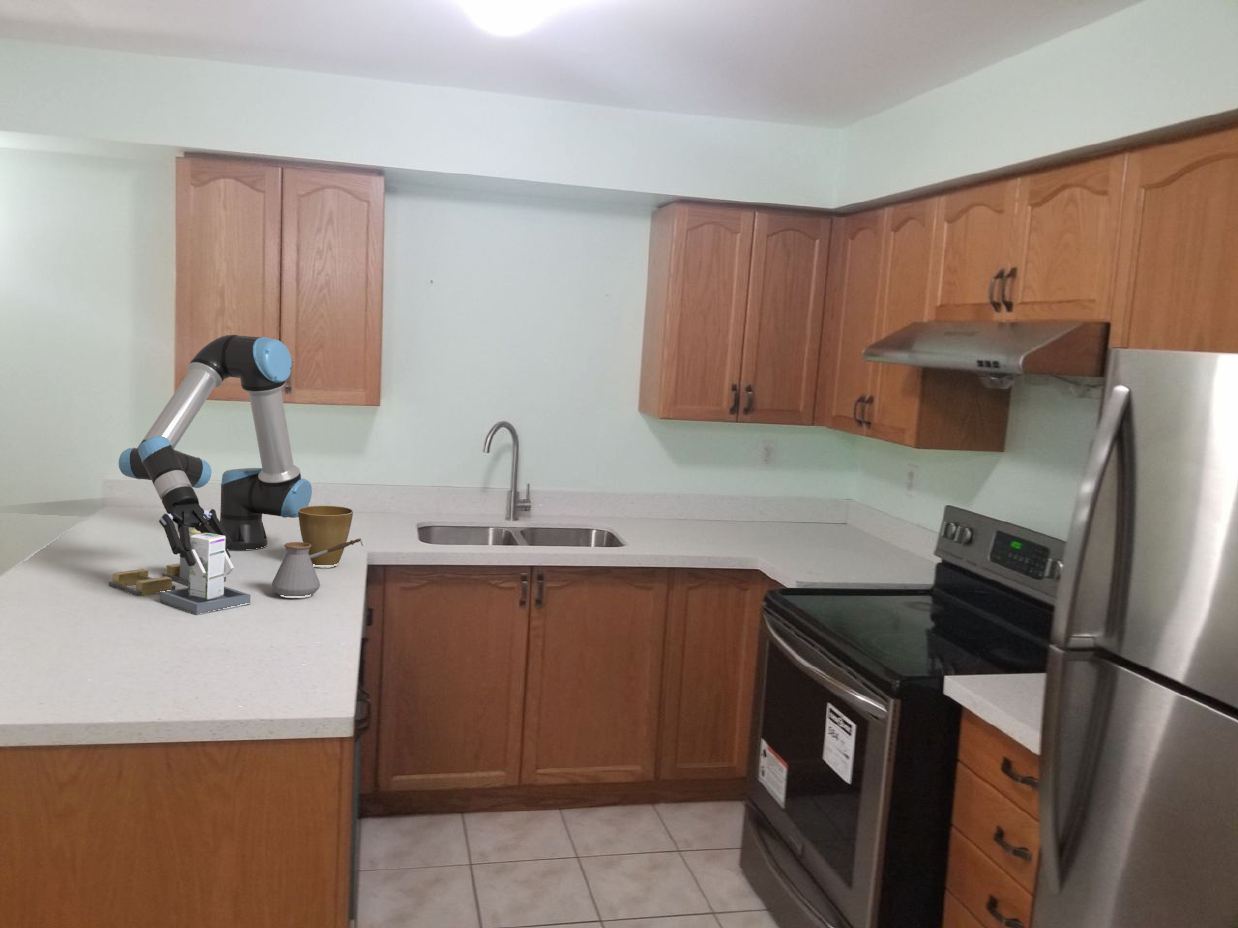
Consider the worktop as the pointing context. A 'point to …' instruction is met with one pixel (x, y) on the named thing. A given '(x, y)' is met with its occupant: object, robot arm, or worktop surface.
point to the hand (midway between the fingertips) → (216, 573)
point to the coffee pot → (300, 569)
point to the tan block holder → (140, 582)
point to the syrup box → (208, 566)
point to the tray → (203, 600)
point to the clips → (176, 574)
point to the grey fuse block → (183, 564)
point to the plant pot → (325, 530)
